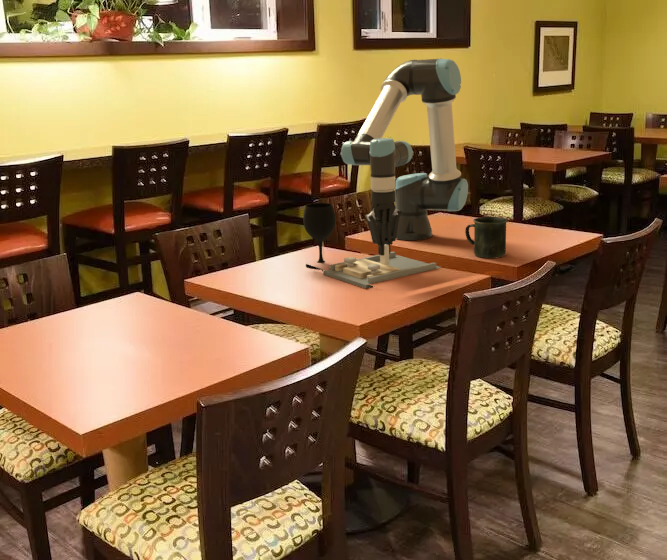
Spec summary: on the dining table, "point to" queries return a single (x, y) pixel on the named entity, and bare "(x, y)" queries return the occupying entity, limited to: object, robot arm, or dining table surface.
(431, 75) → the robot arm
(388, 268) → the panel
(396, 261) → the board
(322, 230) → the wine glass
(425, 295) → the dining table surface
